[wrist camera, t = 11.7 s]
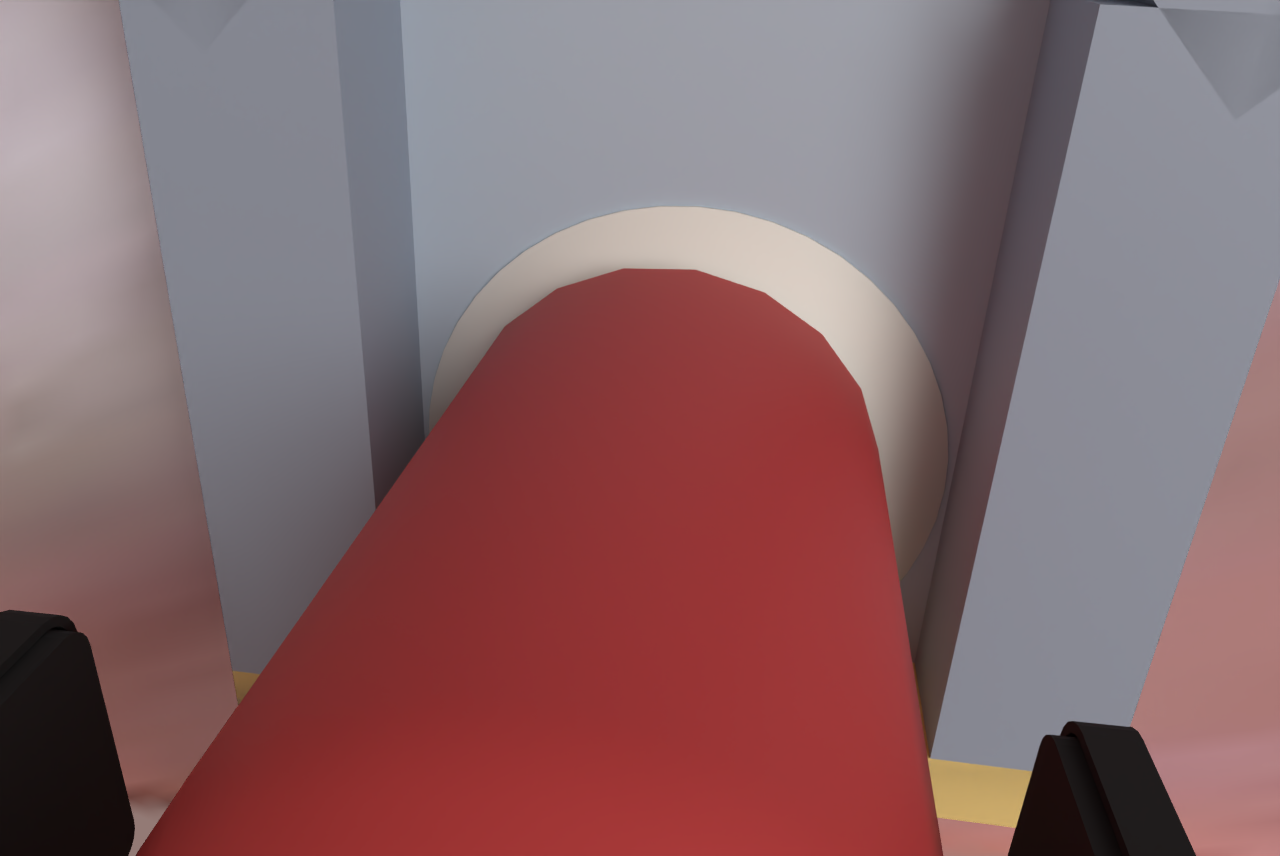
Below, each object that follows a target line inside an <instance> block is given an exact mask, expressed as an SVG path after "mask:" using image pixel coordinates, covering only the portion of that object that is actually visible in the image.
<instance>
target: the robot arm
mask: <svg viewBox="0 0 1280 856" xmlns="http://www.w3.org/2000/svg"><path fill="white" fill-rule="evenodd" d="M134 831H135V825H134V819H133V815H132V811H131V807H130V803H129V799H128V795H127V791H126V787H125V783H124V779H123V775H122V771H121V767H120V763H119V759H118V755H117V751H116V746H115V742H114V738H113V734H112V730H111V726H110V722H109V718H108V714H107V710H106V706H105V702H104V698H103V694H102V690H101V686H100V682H99V678H98V674H97V670H96V666H95V662H94V658H93V654H92V650H91V646H90V643H89V641H88V638H87V637H86V636H85V635H84V634H83V633H80V632H77V630H76V628H75V625H74V623H73V622H72V621H71V620H70V619H69V618H68V617H65V616H61V615H53V614H43V613H33V612H24V611H14V610H8V611H4V612H0V856H128V854H129V852H130V850H131V847H132V843H133V839H134ZM1008 856H1196V855H1195V852H1194V850H1193V848H1192V846H1191V844H1190V841H1189V839H1188V837H1187V835H1186V833H1185V830H1184V828H1183V826H1182V824H1181V822H1180V820H1179V817H1178V815H1177V813H1176V811H1175V809H1174V806H1173V804H1172V802H1171V800H1170V798H1169V795H1168V793H1167V791H1166V789H1165V787H1164V785H1163V782H1162V780H1161V778H1160V776H1159V774H1158V771H1157V769H1156V767H1155V765H1154V763H1153V760H1152V758H1151V756H1150V754H1149V752H1148V749H1147V747H1146V745H1145V743H1144V741H1143V739H1142V737H1141V736H1140V734H1139V732H1138V731H1137V730H1135V729H1134V728H1133V727H1126V726H1116V725H1107V724H1097V723H1088V722H1078V721H1069V722H1067V723H1066V724H1065V726H1064V727H1063V729H1062V731H1061V734H1060V736H1059V735H1045V736H1044V737H1043V738H1042V741H1041V743H1040V746H1039V750H1038V753H1037V757H1036V760H1035V763H1034V767H1033V770H1032V774H1031V777H1030V781H1029V784H1028V788H1027V791H1026V795H1025V798H1024V801H1023V805H1022V808H1021V812H1020V815H1019V819H1018V822H1017V826H1016V829H1015V833H1014V836H1013V839H1012V843H1011V846H1010V850H1009V853H1008Z"/></svg>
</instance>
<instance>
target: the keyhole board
mask: <svg viewBox="0 0 1280 856" xmlns="http://www.w3.org/2000/svg"><path fill="white" fill-rule="evenodd" d="M119 5H120V11H121V17H122V23H123V29H124V35H125V41H126V47H127V53H128V58H129V64H130V70H131V76H132V82H133V88H134V94H135V100H136V106H137V111H138V117H139V123H140V129H141V135H142V141H143V147H144V153H145V159H146V165H147V170H148V176H149V182H150V188H151V194H152V200H153V206H154V212H155V218H156V224H157V229H158V235H159V241H160V247H161V253H162V259H163V265H164V271H165V277H166V283H167V288H168V294H169V300H170V306H171V312H172V318H173V324H174V330H175V336H176V341H177V347H178V353H179V359H180V365H181V371H182V377H183V383H184V389H185V395H186V400H187V406H188V412H189V418H190V424H191V430H192V436H193V442H194V448H195V454H196V459H197V465H198V471H199V477H200V483H201V489H202V495H203V501H204V507H205V513H206V518H207V524H208V530H209V536H210V542H211V548H212V554H213V560H214V566H215V571H216V577H217V583H218V589H219V595H220V601H221V607H222V613H223V619H224V625H225V630H226V636H227V642H228V648H229V654H230V660H231V666H232V672H233V678H234V684H235V689H236V695H237V701H238V705H239V704H240V702H241V701H242V700H243V698H244V697H245V695H246V694H247V692H248V691H249V690H250V688H251V687H252V685H253V684H254V682H255V681H256V680H257V678H258V677H259V675H260V674H261V672H262V671H263V670H264V668H265V667H266V665H267V664H268V663H269V661H270V660H271V658H272V657H273V655H274V654H275V653H276V651H277V650H278V648H279V647H280V645H281V644H282V643H283V641H284V640H285V638H286V637H287V635H288V634H289V633H290V631H291V630H292V628H293V627H294V626H295V624H296V623H297V621H298V620H299V618H300V617H301V616H302V614H303V613H304V611H305V610H306V608H307V607H308V606H309V604H310V603H311V601H312V600H313V598H314V597H315V596H316V594H317V593H318V591H319V590H320V589H321V587H322V586H323V584H324V583H325V581H326V580H327V579H328V577H329V576H330V574H331V573H332V571H333V570H334V569H335V567H336V566H337V564H338V563H339V561H340V560H341V559H342V557H343V556H344V554H345V553H346V552H347V550H348V549H349V547H350V546H351V544H352V543H353V542H354V540H355V539H356V537H357V536H358V534H359V533H360V532H361V530H362V529H363V527H364V526H365V524H366V523H367V522H368V520H369V519H370V517H371V516H372V515H373V513H374V512H375V510H376V509H377V507H378V506H379V505H380V503H381V502H382V500H383V499H384V497H385V496H386V495H387V493H388V492H389V490H390V489H391V487H392V486H393V485H394V483H395V482H396V480H397V479H398V478H399V476H400V475H401V473H402V472H403V470H404V469H405V468H406V466H407V465H408V463H409V462H410V460H411V459H412V458H413V456H414V455H415V453H416V452H417V450H418V449H419V448H420V446H421V445H422V443H423V442H424V441H425V439H426V438H427V436H428V435H429V433H430V432H431V431H432V429H433V428H434V426H435V425H436V423H437V422H438V421H439V419H440V418H441V416H442V415H443V413H444V412H445V411H446V409H447V408H448V406H449V405H450V404H451V402H452V401H453V399H454V398H455V396H456V395H457V394H458V392H459V391H460V389H461V388H462V386H463V385H464V384H465V382H466V381H467V379H468V378H469V376H470V375H471V374H472V372H473V371H474V369H475V368H476V367H477V365H478V364H479V362H480V361H481V359H482V358H483V357H484V355H485V354H486V352H487V351H488V349H489V348H490V347H491V345H492V344H493V342H494V341H495V339H496V338H497V337H498V335H499V334H500V332H501V331H502V330H503V328H504V327H505V326H506V325H507V324H509V323H510V322H511V321H513V320H514V319H516V318H517V317H518V316H520V315H521V314H522V313H524V312H525V311H527V310H528V309H529V308H531V307H532V306H534V305H535V304H536V303H538V302H539V301H541V300H542V299H543V298H545V297H546V296H547V295H549V294H550V293H552V292H553V291H554V290H556V289H557V288H560V287H563V286H567V285H570V284H573V283H577V282H580V281H583V280H587V279H590V278H593V277H596V276H600V275H603V274H606V273H610V272H613V271H616V270H620V269H623V268H634V269H692V270H698V271H701V272H705V273H708V274H711V275H714V276H717V277H720V278H723V279H726V280H729V281H732V282H735V283H738V284H741V285H744V286H747V287H750V288H753V289H756V290H759V291H762V292H765V293H766V294H768V295H769V296H770V297H772V298H773V299H774V300H776V301H777V302H779V303H780V304H781V305H783V306H784V307H786V308H787V309H788V310H790V311H791V312H792V313H794V314H795V315H797V316H798V317H799V318H801V319H802V320H803V321H805V322H806V323H808V324H809V325H810V326H812V327H813V328H814V329H816V330H817V331H819V332H820V333H821V334H822V335H823V336H824V337H825V339H826V340H827V342H828V343H829V344H830V346H831V347H832V349H833V350H834V351H835V353H836V354H837V356H838V357H839V358H840V360H841V361H842V363H843V364H844V365H845V367H846V368H847V370H848V371H849V372H850V374H851V375H852V377H853V378H854V379H855V381H856V382H857V384H858V385H859V386H860V388H861V390H862V393H863V397H864V400H865V404H866V407H867V411H868V415H869V418H870V422H871V425H872V429H873V432H874V436H875V439H876V443H877V446H878V451H879V457H880V463H881V469H882V476H883V482H884V488H885V494H886V501H887V507H888V513H889V519H890V526H891V532H892V538H893V545H894V551H895V557H896V563H897V570H898V576H899V582H900V588H901V595H902V601H903V607H904V613H905V620H906V626H907V632H908V638H909V645H910V651H911V657H912V663H913V670H914V676H915V682H916V689H917V695H918V701H919V707H920V714H921V720H922V726H923V732H924V739H925V745H926V751H927V757H928V764H929V770H930V776H931V782H932V789H933V795H934V801H935V808H936V814H937V818H945V819H953V820H960V821H968V822H975V823H983V824H991V825H998V826H1006V827H1013V828H1016V826H1017V822H1018V819H1019V815H1020V812H1021V808H1022V805H1023V801H1024V798H1025V795H1026V791H1027V788H1028V784H1029V781H1030V777H1031V774H1032V770H1033V767H1034V763H1035V760H1036V757H1037V753H1038V750H1039V746H1040V743H1041V741H1042V738H1043V737H1044V736H1045V735H1059V736H1060V734H1061V731H1062V729H1063V727H1064V726H1065V724H1066V723H1067V722H1069V721H1078V722H1088V723H1097V724H1107V725H1116V726H1126V727H1130V724H1131V721H1132V718H1133V715H1134V712H1135V709H1136V706H1137V703H1138V700H1139V697H1140V694H1141V691H1142V688H1143V685H1144V682H1145V679H1146V676H1147V673H1148V670H1149V668H1150V665H1151V662H1152V659H1153V656H1154V653H1155V650H1156V647H1157V644H1158V641H1159V638H1160V635H1161V632H1162V629H1163V626H1164V623H1165V620H1166V617H1167V614H1168V611H1169V608H1170V605H1171V602H1172V599H1173V596H1174V593H1175V590H1176V587H1177V584H1178V581H1179V578H1180V575H1181V572H1182V569H1183V566H1184V563H1185V560H1186V557H1187V554H1188V551H1189V548H1190V545H1191V542H1192V539H1193V536H1194V533H1195V530H1196V527H1197V524H1198V521H1199V518H1200V515H1201V512H1202V509H1203V506H1204V503H1205V500H1206V497H1207V494H1208V491H1209V488H1210V485H1211V482H1212V479H1213V476H1214V473H1215V470H1216V467H1217V464H1218V461H1219V458H1220V455H1221V452H1222V449H1223V446H1224V443H1225V440H1226V437H1227V434H1228V431H1229V428H1230V425H1231V422H1232V420H1233V417H1234V414H1235V411H1236V408H1237V405H1238V402H1239V399H1240V396H1241V393H1242V390H1243V387H1244V384H1245V381H1246V378H1247V375H1248V372H1249V369H1250V366H1251V363H1252V360H1253V357H1254V354H1255V351H1256V348H1257V345H1258V342H1259V339H1260V336H1261V333H1262V330H1263V327H1264V324H1265V321H1266V318H1267V315H1268V312H1269V309H1270V306H1271V303H1272V300H1273V297H1274V294H1275V291H1276V288H1277V285H1278V282H1279V279H1280V0H119Z"/></svg>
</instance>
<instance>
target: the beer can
mask: <svg viewBox="0 0 1280 856" xmlns="http://www.w3.org/2000/svg"><path fill="white" fill-rule="evenodd" d="M136 856H943V851H942V845H941V839H940V833H939V826H938V820H937V814H936V808H935V801H934V795H933V789H932V782H931V776H930V770H929V764H928V757H927V751H926V745H925V739H924V732H923V726H922V720H921V714H920V707H919V701H918V695H917V689H916V682H915V676H914V670H913V663H912V657H911V651H910V645H909V638H908V632H907V626H906V620H905V613H904V607H903V601H902V595H901V588H900V582H899V576H898V570H897V563H896V557H895V551H894V545H893V538H892V532H891V526H890V519H889V513H888V507H887V501H886V494H885V488H884V482H883V476H882V469H881V463H880V457H879V451H878V446H877V443H876V439H875V436H874V432H873V429H872V425H871V422H870V418H869V415H868V411H867V407H866V404H865V400H864V397H863V393H862V390H861V388H860V386H859V385H858V384H857V382H856V381H855V379H854V378H853V377H852V375H851V374H850V372H849V371H848V370H847V368H846V367H845V365H844V364H843V363H842V361H841V360H840V358H839V357H838V356H837V354H836V353H835V351H834V350H833V349H832V347H831V346H830V344H829V343H828V342H827V340H826V339H825V337H824V336H823V335H822V334H821V333H820V332H819V331H817V330H816V329H814V328H813V327H812V326H810V325H809V324H808V323H806V322H805V321H803V320H802V319H801V318H799V317H798V316H797V315H795V314H794V313H792V312H791V311H790V310H788V309H787V308H786V307H784V306H783V305H781V304H780V303H779V302H777V301H776V300H774V299H773V298H772V297H770V296H769V295H768V294H766V293H765V292H762V291H759V290H756V289H753V288H750V287H747V286H744V285H741V284H738V283H735V282H732V281H729V280H726V279H723V278H720V277H717V276H714V275H711V274H708V273H705V272H701V271H698V270H692V269H634V268H623V269H620V270H616V271H613V272H610V273H606V274H603V275H600V276H596V277H593V278H590V279H587V280H583V281H580V282H577V283H573V284H570V285H567V286H563V287H560V288H557V289H556V290H554V291H553V292H552V293H550V294H549V295H547V296H546V297H545V298H543V299H542V300H541V301H539V302H538V303H536V304H535V305H534V306H532V307H531V308H529V309H528V310H527V311H525V312H524V313H522V314H521V315H520V316H518V317H517V318H516V319H514V320H513V321H511V322H510V323H509V324H507V325H506V326H505V327H504V328H503V330H502V331H501V332H500V334H499V335H498V337H497V338H496V339H495V341H494V342H493V344H492V345H491V347H490V348H489V349H488V351H487V352H486V354H485V355H484V357H483V358H482V359H481V361H480V362H479V364H478V365H477V367H476V368H475V369H474V371H473V372H472V374H471V375H470V376H469V378H468V379H467V381H466V382H465V384H464V385H463V386H462V388H461V389H460V391H459V392H458V394H457V395H456V396H455V398H454V399H453V401H452V402H451V404H450V405H449V406H448V408H447V409H446V411H445V412H444V413H443V415H442V416H441V418H440V419H439V421H438V422H437V423H436V425H435V426H434V428H433V429H432V431H431V432H430V433H429V435H428V436H427V438H426V439H425V441H424V442H423V443H422V445H421V446H420V448H419V449H418V450H417V452H416V453H415V455H414V456H413V458H412V459H411V460H410V462H409V463H408V465H407V466H406V468H405V469H404V470H403V472H402V473H401V475H400V476H399V478H398V479H397V480H396V482H395V483H394V485H393V486H392V487H391V489H390V490H389V492H388V493H387V495H386V496H385V497H384V499H383V500H382V502H381V503H380V505H379V506H378V507H377V509H376V510H375V512H374V513H373V515H372V516H371V517H370V519H369V520H368V522H367V523H366V524H365V526H364V527H363V529H362V530H361V532H360V533H359V534H358V536H357V537H356V539H355V540H354V542H353V543H352V544H351V546H350V547H349V549H348V550H347V552H346V553H345V554H344V556H343V557H342V559H341V560H340V561H339V563H338V564H337V566H336V567H335V569H334V570H333V571H332V573H331V574H330V576H329V577H328V579H327V580H326V581H325V583H324V584H323V586H322V587H321V589H320V590H319V591H318V593H317V594H316V596H315V597H314V598H313V600H312V601H311V603H310V604H309V606H308V607H307V608H306V610H305V611H304V613H303V614H302V616H301V617H300V618H299V620H298V621H297V623H296V624H295V626H294V627H293V628H292V630H291V631H290V633H289V634H288V635H287V637H286V638H285V640H284V641H283V643H282V644H281V645H280V647H279V648H278V650H277V651H276V653H275V654H274V655H273V657H272V658H271V660H270V661H269V663H268V664H267V665H266V667H265V668H264V670H263V671H262V672H261V674H260V675H259V677H258V678H257V680H256V681H255V682H254V684H253V685H252V687H251V688H250V690H249V691H248V692H247V694H246V695H245V697H244V698H243V700H242V701H241V702H240V704H239V705H238V707H237V708H236V709H235V711H234V712H233V714H232V715H231V717H230V718H229V719H228V721H227V722H226V724H225V725H224V727H223V728H222V729H221V731H220V732H219V734H218V735H217V737H216V738H215V739H214V741H213V742H212V744H211V745H210V746H209V748H208V749H207V751H206V752H205V754H204V755H203V756H202V758H201V759H200V761H199V762H198V764H197V765H196V766H195V768H194V769H193V771H192V772H191V774H190V775H189V776H188V778H187V779H186V781H185V782H184V784H183V785H182V787H181V788H180V790H179V791H178V793H177V794H176V796H175V797H174V799H173V800H172V802H171V803H170V805H169V806H168V808H167V809H166V811H165V812H164V814H163V815H162V817H161V818H160V820H159V821H158V823H157V824H156V826H155V827H154V829H153V830H152V832H151V833H150V834H149V836H148V838H147V839H146V840H145V842H144V843H143V845H142V846H141V848H140V850H139V851H138V852H137V854H136Z"/></svg>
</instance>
